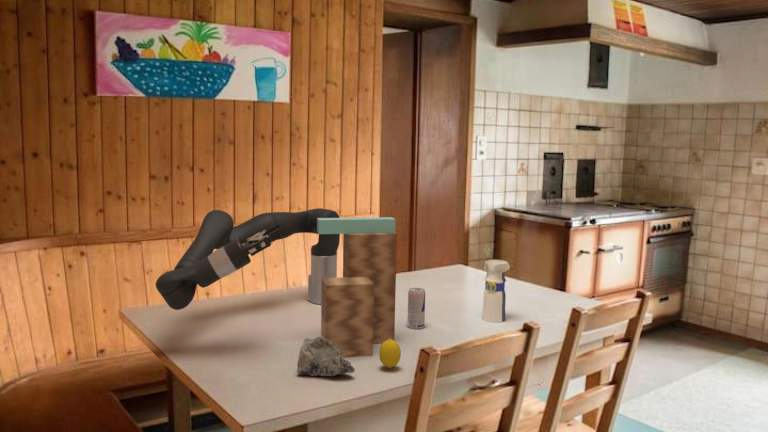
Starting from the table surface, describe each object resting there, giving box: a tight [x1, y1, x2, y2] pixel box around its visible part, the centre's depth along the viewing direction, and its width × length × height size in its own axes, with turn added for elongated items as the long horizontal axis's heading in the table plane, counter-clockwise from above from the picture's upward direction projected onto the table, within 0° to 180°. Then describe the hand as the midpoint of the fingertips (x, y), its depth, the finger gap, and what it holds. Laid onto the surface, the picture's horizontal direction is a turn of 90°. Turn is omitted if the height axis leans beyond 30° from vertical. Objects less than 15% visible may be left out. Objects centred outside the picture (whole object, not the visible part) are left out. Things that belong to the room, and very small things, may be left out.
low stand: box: [320, 276, 374, 358], centre depth 181 cm, size 13×9×20 cm
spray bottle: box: [481, 245, 511, 323], centre depth 216 cm, size 8×9×25 cm
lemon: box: [378, 339, 402, 370], centre depth 170 cm, size 6×6×8 cm
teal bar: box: [317, 216, 396, 235], centre depth 188 cm, size 22×4×4 cm, turn 103°
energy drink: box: [406, 287, 426, 330], centre depth 206 cm, size 5×5×12 cm
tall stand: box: [342, 232, 398, 345], centre depth 191 cm, size 14×8×32 cm, turn 103°
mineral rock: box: [296, 335, 356, 377], centre depth 164 cm, size 13×11×10 cm
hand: (281, 228), depth 180 cm, fingers open, 8 cm apart
